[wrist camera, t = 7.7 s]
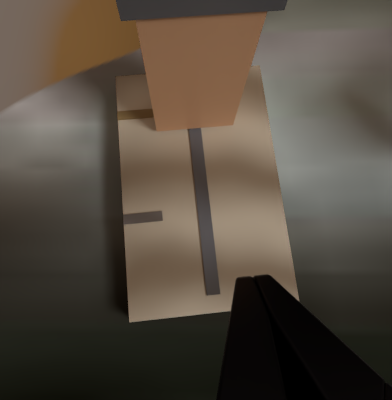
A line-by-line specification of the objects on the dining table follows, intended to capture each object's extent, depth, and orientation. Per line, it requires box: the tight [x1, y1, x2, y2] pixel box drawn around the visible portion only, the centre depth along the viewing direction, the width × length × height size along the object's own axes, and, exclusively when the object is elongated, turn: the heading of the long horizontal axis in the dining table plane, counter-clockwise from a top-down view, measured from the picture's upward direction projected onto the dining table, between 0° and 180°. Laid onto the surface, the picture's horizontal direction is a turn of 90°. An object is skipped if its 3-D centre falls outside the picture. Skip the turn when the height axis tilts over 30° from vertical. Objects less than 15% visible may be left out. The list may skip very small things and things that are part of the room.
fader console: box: [115, 66, 299, 322], centre depth 22 cm, size 16×10×2 cm, turn 6°
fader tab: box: [116, 0, 287, 131], centre depth 17 cm, size 4×6×11 cm, turn 96°
